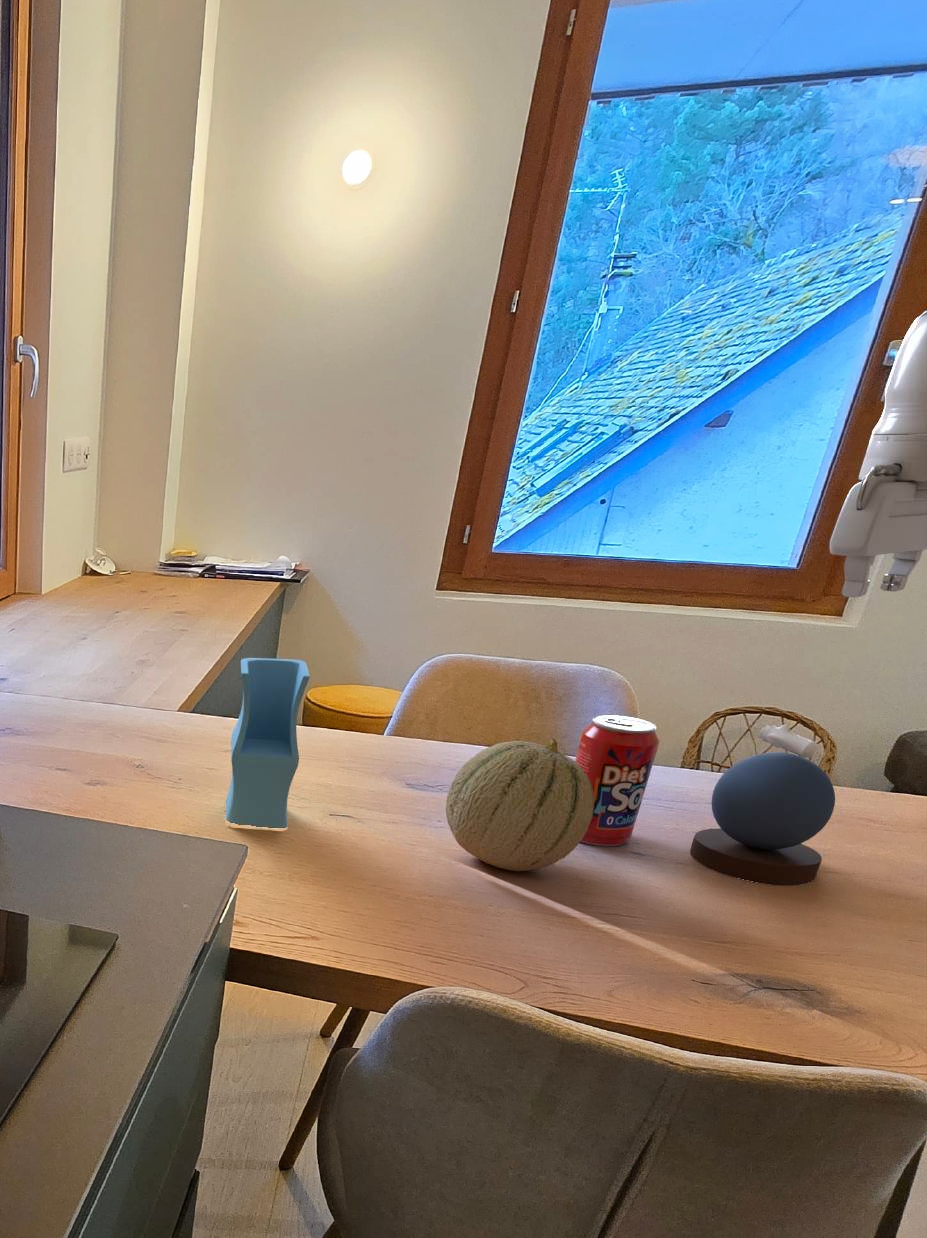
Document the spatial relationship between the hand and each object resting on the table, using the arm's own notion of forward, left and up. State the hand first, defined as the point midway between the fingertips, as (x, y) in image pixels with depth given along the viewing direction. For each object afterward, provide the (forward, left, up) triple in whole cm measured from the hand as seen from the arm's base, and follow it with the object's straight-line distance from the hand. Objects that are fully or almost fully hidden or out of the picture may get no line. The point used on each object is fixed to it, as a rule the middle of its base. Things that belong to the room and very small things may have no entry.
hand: (872, 593), depth 117 cm
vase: (+36, +56, -30) cm, 73 cm away
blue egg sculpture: (-3, +16, -30) cm, 34 cm away
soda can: (+11, +24, -30) cm, 40 cm away
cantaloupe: (+11, +41, -30) cm, 52 cm away
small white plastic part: (-3, +16, -16) cm, 23 cm away
